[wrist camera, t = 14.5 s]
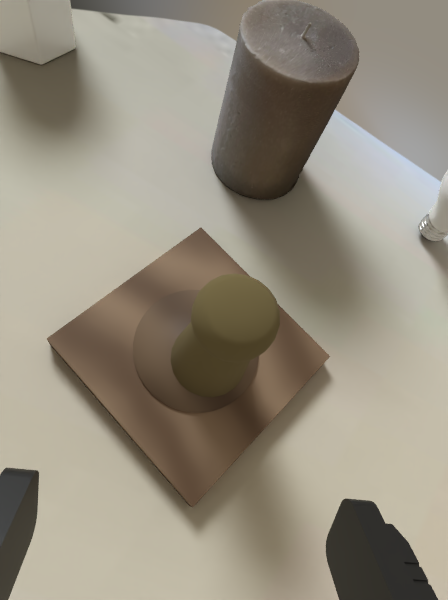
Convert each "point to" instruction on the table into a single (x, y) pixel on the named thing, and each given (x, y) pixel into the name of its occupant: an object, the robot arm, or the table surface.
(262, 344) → the cork
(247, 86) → the pillar candle
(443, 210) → the light bulb
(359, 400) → the table surface
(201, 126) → the table surface
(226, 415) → the walnut board
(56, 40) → the jar
